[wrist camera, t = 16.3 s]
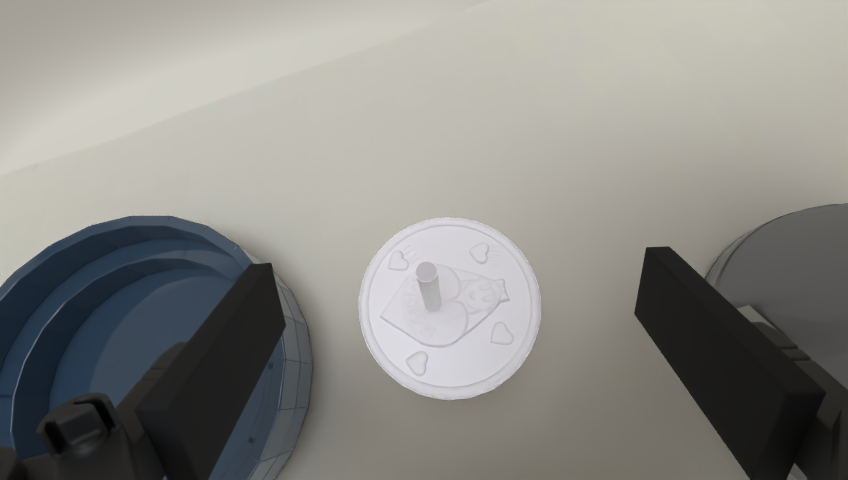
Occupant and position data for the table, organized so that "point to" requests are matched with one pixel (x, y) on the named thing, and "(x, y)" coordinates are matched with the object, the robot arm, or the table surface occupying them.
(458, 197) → the table surface
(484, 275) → the smoothie
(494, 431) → the table surface
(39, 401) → the bowl
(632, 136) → the table surface
